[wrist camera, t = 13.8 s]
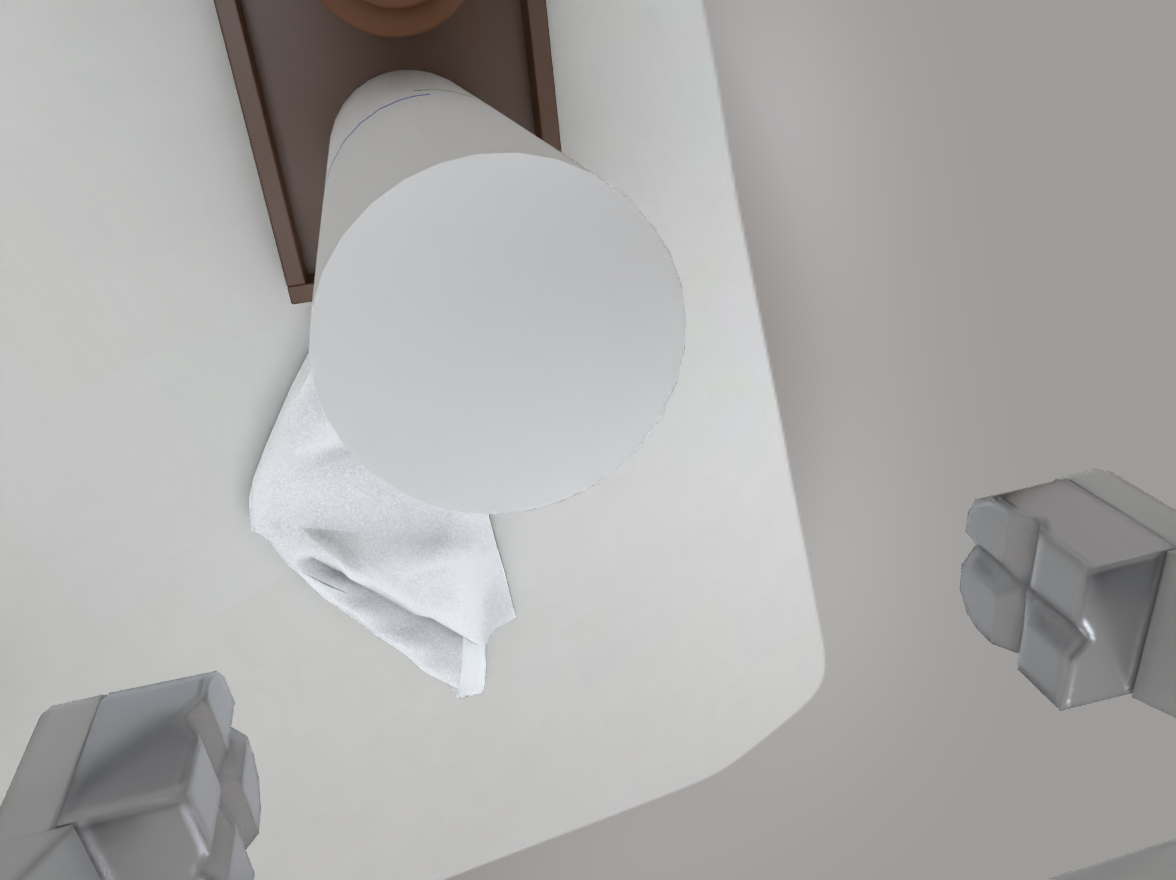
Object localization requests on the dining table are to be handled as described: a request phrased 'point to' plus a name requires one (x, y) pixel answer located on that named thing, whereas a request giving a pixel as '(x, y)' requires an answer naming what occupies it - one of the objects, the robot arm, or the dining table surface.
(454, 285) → the cylindrical container
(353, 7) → the brown bottle
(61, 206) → the dining table surface
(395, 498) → the cloth
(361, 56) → the tray
